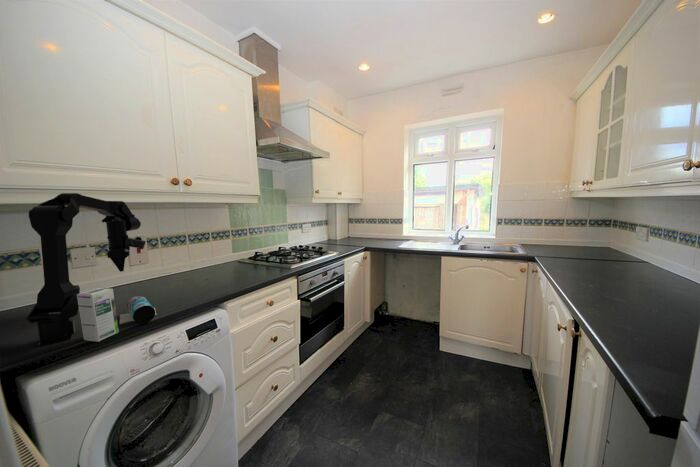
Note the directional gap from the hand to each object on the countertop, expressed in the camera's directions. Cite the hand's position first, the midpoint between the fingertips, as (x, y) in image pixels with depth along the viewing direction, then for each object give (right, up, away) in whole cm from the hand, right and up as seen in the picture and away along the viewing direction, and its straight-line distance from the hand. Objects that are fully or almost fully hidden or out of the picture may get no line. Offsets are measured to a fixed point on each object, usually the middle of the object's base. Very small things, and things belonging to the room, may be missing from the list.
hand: (121, 271), depth 105 cm
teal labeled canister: (+13, -11, -8) cm, 19 cm away
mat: (+16, -15, -11) cm, 25 cm away
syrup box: (+17, -16, -26) cm, 35 cm away
